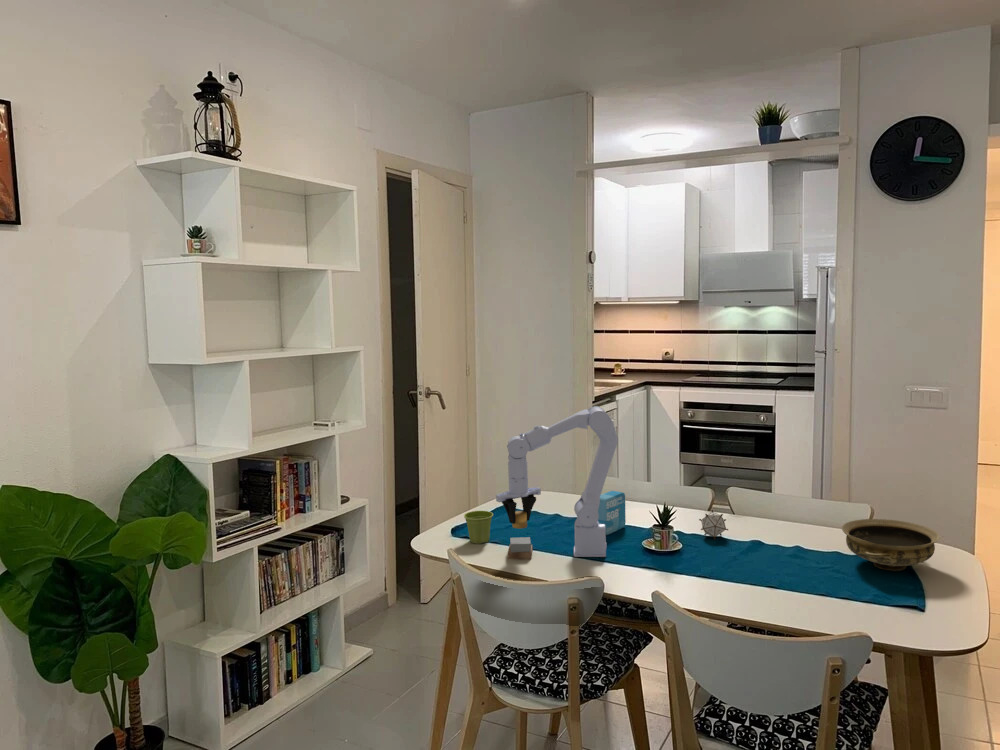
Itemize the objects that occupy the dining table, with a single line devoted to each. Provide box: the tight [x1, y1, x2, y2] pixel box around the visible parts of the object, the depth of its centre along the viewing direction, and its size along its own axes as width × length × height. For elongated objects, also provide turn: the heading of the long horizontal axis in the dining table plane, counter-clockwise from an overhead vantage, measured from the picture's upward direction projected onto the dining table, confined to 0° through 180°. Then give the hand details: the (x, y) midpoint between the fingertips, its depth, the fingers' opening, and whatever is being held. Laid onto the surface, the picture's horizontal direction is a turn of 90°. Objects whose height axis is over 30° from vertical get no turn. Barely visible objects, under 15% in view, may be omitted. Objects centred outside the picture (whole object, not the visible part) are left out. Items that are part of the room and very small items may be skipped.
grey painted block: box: [509, 536, 532, 552], centre depth 227 cm, size 6×6×2 cm
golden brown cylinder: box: [511, 510, 528, 530], centre depth 226 cm, size 4×4×4 cm
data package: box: [598, 490, 626, 536], centre depth 248 cm, size 12×4×12 cm, turn 138°
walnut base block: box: [507, 544, 534, 560], centre depth 228 cm, size 7×7×2 cm
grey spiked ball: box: [698, 509, 729, 540], centre depth 238 cm, size 9×8×10 cm
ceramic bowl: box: [841, 518, 940, 572], centre depth 209 cm, size 30×24×10 cm
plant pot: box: [463, 510, 494, 545], centre depth 241 cm, size 9×9×9 cm
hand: (519, 521), depth 227 cm, fingers closed on golden brown cylinder, 4 cm apart
